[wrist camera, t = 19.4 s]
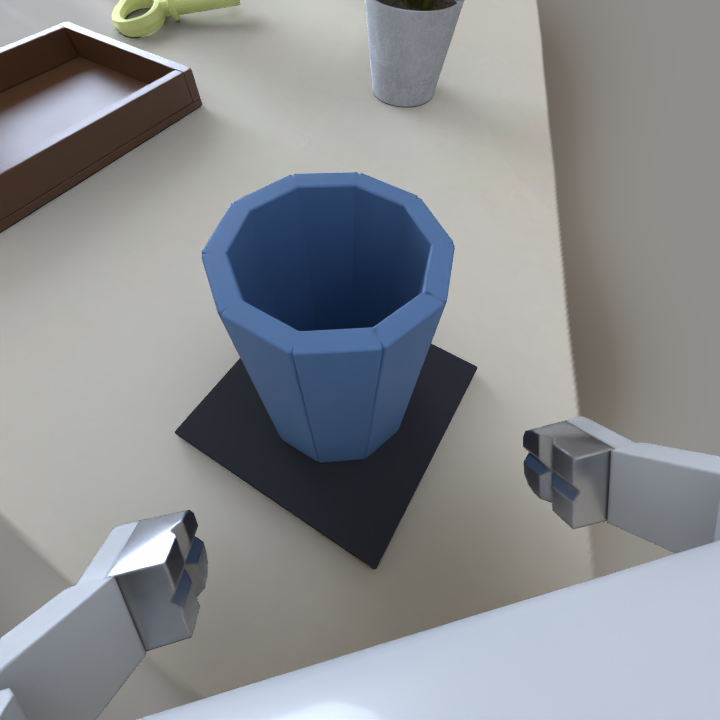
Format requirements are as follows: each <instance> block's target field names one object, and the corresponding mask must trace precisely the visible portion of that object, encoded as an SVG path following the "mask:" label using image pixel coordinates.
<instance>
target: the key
mask: <svg viewBox="0 0 720 720" xmlns="http://www.w3.org/2000/svg"><path fill="white" fill-rule="evenodd" d="M237 5H240V1H239V0H121V1H120V2H119V3H118V4H117V5H116V7H115V8H114V10H113V12H112V21H113V24H114V26H115V27H116V28H117V29H118V30H119V31H120V32H121V33H122V34H123V35H125V36H129V37H140V36H145V35H148V34H151V33H153V32H155V31H157V30H158V29H159V28H160V27H161V26H162V25H163V24H164V22H165V20H166V17H171V16H172V17H173V19H174V20H175V21H178V20H179V18H180V17H179V15H183V14H189V13H195V12H201V11H207V10H213V9H219V8H225V7H231V6H237ZM151 7H152V8H151ZM141 8H151V9H150V10H149V11H148V12H147V13H146V14H144V15H142V16H140V17H136V18H133V19H125V17H126V16H127V15H128V14H130V13H131V12H133V11H135V10H138V9H141Z"/></svg>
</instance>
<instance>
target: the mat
mask: <svg viewBox="0 0 720 720" xmlns="http://www.w3.org/2000/svg"><path fill="white" fill-rule="evenodd" d="M476 370H477V367H476V366H474V365H472V364H470V363H468V362H466V361H464V360H462V359H460V358H458V357H456V356H454V355H452V354H451V353H449V352H447V351H445V350H443V349H441V348H439V347H437V346H435V345H433V344H430V347H429V350H428V352H427V355H426V358H425V360H424V363H423V366H422V368H421V371H420V374H419V376H418V379H417V382H416V384H415V387H414V390H413V392H412V395H411V398H410V400H409V403H408V406H407V408H406V411H405V414H404V416H403V419H402V422H401V424H400V427H399V429H398V431H397V432H396V433H395V434H394V435H393V436H391V437H390V438H389V439H388V440H387V441H386V442H384V443H383V444H382V445H381V446H380V447H379V448H378V449H376V450H375V451H374V452H373V453H372V454H371V455H369V456H368V457H367V458H364V459H361V460H348V461H336V462H323V463H320V462H319V461H318V462H317V461H315V460H313V459H312V458H310V457H309V456H307V455H306V454H304V453H302V452H301V451H299V450H298V449H296V448H295V447H293V446H291V445H290V444H288V443H287V442H285V441H283V440H282V438H281V437H280V436H279V434H278V432H277V430H276V428H275V426H274V424H273V422H272V420H271V418H270V416H269V414H268V412H267V410H266V408H265V406H264V404H263V402H262V400H261V398H260V396H259V394H258V392H257V390H256V388H255V386H254V384H253V382H252V380H251V378H250V376H249V374H248V372H247V370H246V368H245V366H244V364H243V362H242V360H241V358H240V359H239V360H238V361H237V362H236V363H235V365H234V366H233V367H232V368H231V369H230V370H229V371H228V372H227V374H226V375H225V376H224V377H223V378H222V379H221V380H220V381H219V383H218V384H217V385H216V386H215V387H214V388H213V389H212V390H211V392H210V393H209V394H208V395H207V396H206V397H205V398H204V399H203V401H202V402H201V403H200V404H199V405H198V406H197V407H196V408H195V410H194V411H193V412H192V413H191V414H190V415H189V416H188V417H187V419H186V420H185V421H184V422H183V423H182V424H181V425H180V426H179V428H178V429H177V430H176V431H175V433H176V434H177V435H178V436H179V437H181V438H182V439H184V440H185V441H187V442H188V443H190V444H191V445H193V446H194V447H196V448H197V449H199V450H200V451H201V452H203V453H204V454H206V455H207V456H209V457H210V458H212V459H213V460H215V461H216V462H218V463H219V464H220V465H222V466H223V467H225V468H226V469H228V470H229V471H231V472H232V473H234V474H235V475H237V476H238V477H240V478H241V479H242V480H244V481H245V482H247V483H248V484H250V485H251V486H253V487H254V488H256V489H257V490H259V491H260V492H261V493H263V494H264V495H266V496H267V497H269V498H270V499H272V500H273V501H275V502H276V503H278V504H279V505H280V506H282V507H283V508H285V509H286V510H288V511H289V512H291V513H292V514H294V515H295V516H297V517H298V518H300V519H301V520H302V521H304V522H305V523H307V524H308V525H310V526H311V527H313V528H314V529H316V530H317V531H319V532H320V533H321V534H323V535H324V536H326V537H327V538H329V539H330V540H332V541H333V542H335V543H336V544H338V545H339V546H341V547H342V548H343V549H345V550H346V551H348V552H349V553H351V554H352V555H354V556H355V557H357V558H358V559H360V560H361V561H362V562H364V563H365V564H367V565H368V566H370V567H371V568H373V569H376V568H377V566H378V564H379V562H380V560H381V558H382V556H383V554H384V552H385V550H386V548H387V546H388V544H389V542H390V540H391V538H392V536H393V534H394V532H395V530H396V528H397V526H398V524H399V522H400V520H401V518H402V516H403V514H404V512H405V510H406V508H407V506H408V504H409V502H410V500H411V499H412V497H413V495H414V493H415V491H416V489H417V487H418V485H419V483H420V481H421V479H422V477H423V475H424V473H425V471H426V469H427V467H428V465H429V463H430V461H431V459H432V457H433V455H434V453H435V451H436V449H437V447H438V445H439V443H440V441H441V439H442V437H443V435H444V433H445V431H446V429H447V427H448V425H449V423H450V421H451V419H452V417H453V415H454V413H455V411H456V409H457V407H458V405H459V403H460V401H461V399H462V397H463V395H464V393H465V391H466V389H467V387H468V386H469V384H470V382H471V380H472V378H473V376H474V374H475V372H476Z"/></svg>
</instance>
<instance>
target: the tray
mask: <svg viewBox="0 0 720 720" xmlns="http://www.w3.org/2000/svg"><path fill="white" fill-rule="evenodd" d="M201 105H202V102H201V99H200V96H199V92H198V89H197V86H196V83H195V79H194V76H193V73H192V70H191V68H189V67H186V66H183V65H181V64H178V63H175V62H173V61H170V60H167V59H165V58H162V57H160V56H157V55H154V54H152V53H149V52H146V51H144V50H141V49H138V48H136V47H133V46H130V45H128V44H125V43H122V42H120V41H117V40H114V39H112V38H109V37H106V36H104V35H101V34H98V33H96V32H93V31H90V30H88V29H85V28H82V27H80V26H77V25H74V24H72V23H69V22H63V23H61V24H59V25H57V26H54V27H52V28H49V29H47V30H44V31H42V32H39V33H37V34H34V35H31V36H29V37H26V38H24V39H21V40H19V41H16V42H14V43H11V44H9V45H6V46H4V47H1V48H0V232H1V231H3V230H5V229H6V228H8V227H9V226H11V225H12V224H14V223H16V222H17V221H19V220H20V219H22V218H24V217H25V216H27V215H28V214H30V213H32V212H33V211H35V210H36V209H38V208H39V207H41V206H43V205H44V204H46V203H47V202H49V201H51V200H52V199H54V198H55V197H57V196H58V195H60V194H62V193H63V192H65V191H66V190H68V189H70V188H71V187H73V186H74V185H76V184H78V183H79V182H81V181H82V180H84V179H85V178H87V177H89V176H90V175H92V174H93V173H95V172H97V171H98V170H100V169H101V168H103V167H105V166H106V165H108V164H109V163H111V162H112V161H114V160H116V159H117V158H119V157H120V156H122V155H124V154H125V153H127V152H128V151H130V150H132V149H133V148H135V147H136V146H138V145H139V144H141V143H143V142H144V141H146V140H147V139H149V138H151V137H152V136H154V135H155V134H157V133H158V132H160V131H162V130H163V129H165V128H166V127H168V126H170V125H171V124H173V123H174V122H176V121H178V120H179V119H181V118H182V117H184V116H185V115H187V114H189V113H190V112H192V111H193V110H195V109H197V108H198V107H200V106H201Z"/></svg>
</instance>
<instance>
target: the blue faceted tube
mask: <svg viewBox="0 0 720 720" xmlns="http://www.w3.org/2000/svg"><path fill="white" fill-rule="evenodd" d="M453 255H454V245H453V241H452V240H451V238H450V237H449V236H448V234H447V233H446V232H445V230H444V229H443V228H442V226H441V225H440V224H439V222H438V221H437V220H436V218H435V217H434V216H433V214H432V213H431V212H430V210H429V209H428V208H427V206H426V205H425V204H424V202H423V201H422V199H420V198H418V196H416V195H414V194H412V193H409V192H407V191H404V190H402V189H399V188H397V187H394V186H392V185H389V184H387V183H384V182H382V181H379V180H377V179H375V178H372V177H370V176H367V175H365V174H362V173H361V174H358V173H356V172H355V173H314V174H294V175H293V176H292V175H288V176H286V177H284V178H282V179H280V180H278V181H276V182H274V183H271V184H269V185H267V186H265V187H263V188H261V189H259V190H257V191H255V192H253V193H250V194H248V195H246V196H244V197H242V198H240V199H238V200H236V201H234V203H231V205H230V206H229V208H228V210H227V211H226V213H225V214H224V216H223V218H222V219H221V221H220V223H219V224H218V226H217V228H216V229H215V231H214V232H213V234H212V236H211V237H210V239H209V241H208V242H207V244H206V245H205V247H204V249H203V250H202V260H203V264H204V267H205V271H206V274H207V277H208V281H209V284H210V288H211V291H212V294H213V298H214V301H215V305H216V308H217V311H218V314H219V316H220V318H221V320H222V322H223V324H224V326H225V328H226V330H227V332H228V334H229V336H230V338H231V340H232V342H233V344H234V346H235V348H236V350H237V352H238V354H239V356H240V358H241V360H242V362H243V364H244V366H245V368H246V370H247V372H248V374H249V376H250V378H251V380H252V382H253V384H254V386H255V388H256V390H257V392H258V394H259V396H260V398H261V400H262V402H263V404H264V406H265V408H266V410H267V412H268V414H269V416H270V418H271V420H272V422H273V424H274V426H275V428H276V430H277V432H278V434H279V436H280V437H281V438H282V440H283V441H285V442H287V443H288V444H290V445H291V446H293V447H295V448H296V449H298V450H299V451H301V452H302V453H304V454H306V455H307V456H309V457H310V458H312V459H313V460H315V461H317V462H318V461H319V462H320V463H323V462H336V461H348V460H361V459H364V458H367V457H368V456H369V455H371V454H372V453H373V452H374V451H375V450H376V449H378V448H379V447H380V446H381V445H382V444H383V443H384V442H386V441H387V440H388V439H389V438H390V437H391V436H393V435H394V434H395V433H396V432H397V431H398V429H399V427H400V424H401V422H402V419H403V416H404V414H405V411H406V408H407V406H408V403H409V400H410V398H411V395H412V392H413V390H414V387H415V384H416V382H417V379H418V376H419V374H420V371H421V368H422V366H423V363H424V360H425V358H426V355H427V352H428V350H429V347H430V344H431V342H432V339H433V336H434V334H435V331H436V328H437V326H438V323H439V320H440V318H441V315H442V312H443V310H444V307H445V304H446V302H447V296H448V289H449V282H450V275H451V269H452V262H453Z"/></svg>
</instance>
